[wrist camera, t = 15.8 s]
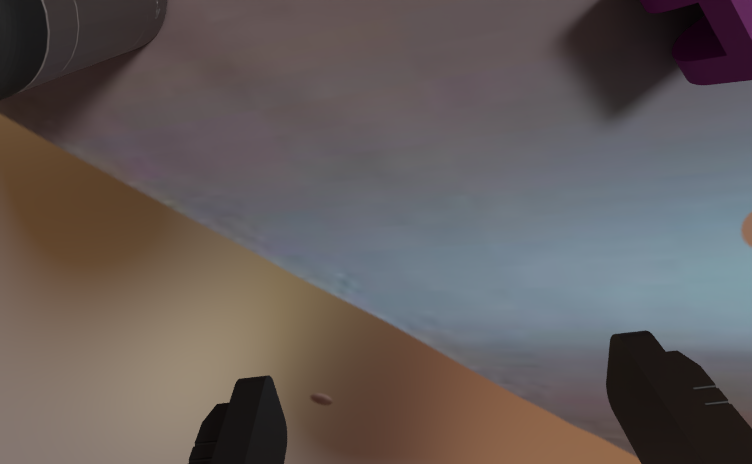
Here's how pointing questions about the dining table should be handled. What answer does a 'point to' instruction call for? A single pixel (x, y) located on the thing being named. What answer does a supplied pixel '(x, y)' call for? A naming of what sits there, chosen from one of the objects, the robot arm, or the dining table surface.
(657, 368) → the robot arm
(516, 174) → the dining table surface
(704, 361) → the dining table surface
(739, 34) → the mounting bracket
